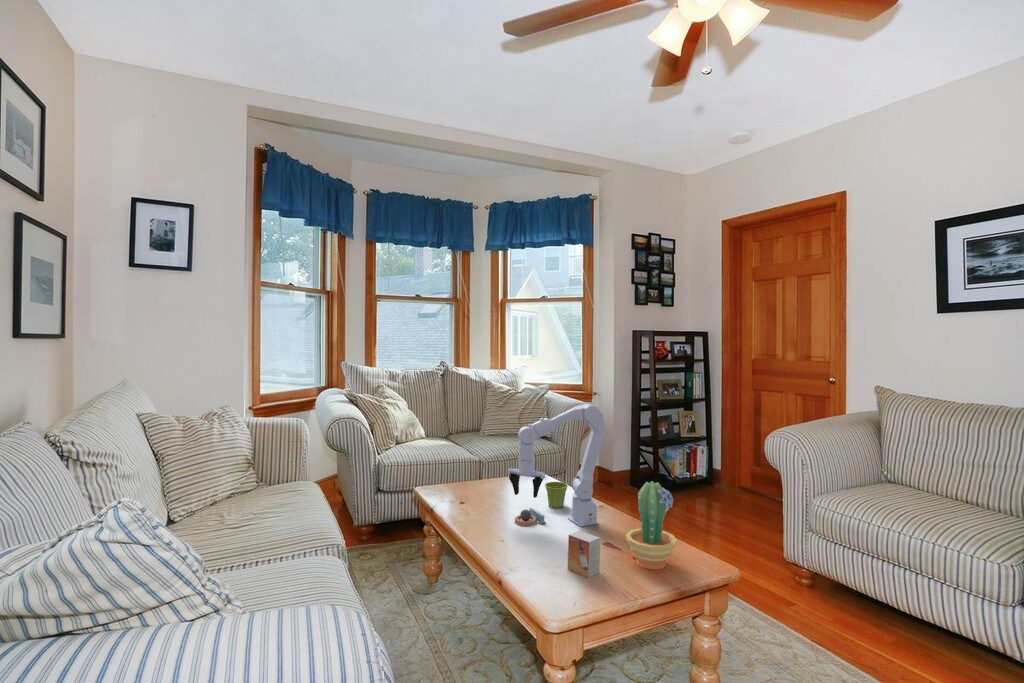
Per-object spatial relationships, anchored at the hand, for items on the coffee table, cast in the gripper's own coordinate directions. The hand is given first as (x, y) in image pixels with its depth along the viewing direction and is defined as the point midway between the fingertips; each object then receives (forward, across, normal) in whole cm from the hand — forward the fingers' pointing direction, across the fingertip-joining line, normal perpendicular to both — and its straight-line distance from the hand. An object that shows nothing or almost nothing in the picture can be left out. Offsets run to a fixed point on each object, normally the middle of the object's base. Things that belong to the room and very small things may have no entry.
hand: (525, 495), depth 198 cm
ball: (+9, 0, 0) cm, 9 cm away
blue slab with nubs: (+10, -3, -4) cm, 11 cm away
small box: (+10, -32, +30) cm, 45 cm away
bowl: (+10, 0, 0) cm, 10 cm away
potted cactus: (+10, -49, +15) cm, 52 cm away
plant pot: (+10, -4, -23) cm, 25 cm away
